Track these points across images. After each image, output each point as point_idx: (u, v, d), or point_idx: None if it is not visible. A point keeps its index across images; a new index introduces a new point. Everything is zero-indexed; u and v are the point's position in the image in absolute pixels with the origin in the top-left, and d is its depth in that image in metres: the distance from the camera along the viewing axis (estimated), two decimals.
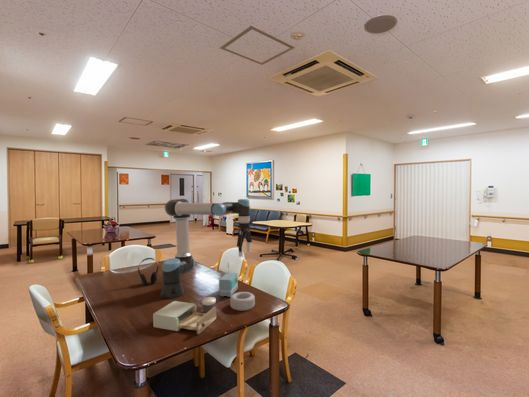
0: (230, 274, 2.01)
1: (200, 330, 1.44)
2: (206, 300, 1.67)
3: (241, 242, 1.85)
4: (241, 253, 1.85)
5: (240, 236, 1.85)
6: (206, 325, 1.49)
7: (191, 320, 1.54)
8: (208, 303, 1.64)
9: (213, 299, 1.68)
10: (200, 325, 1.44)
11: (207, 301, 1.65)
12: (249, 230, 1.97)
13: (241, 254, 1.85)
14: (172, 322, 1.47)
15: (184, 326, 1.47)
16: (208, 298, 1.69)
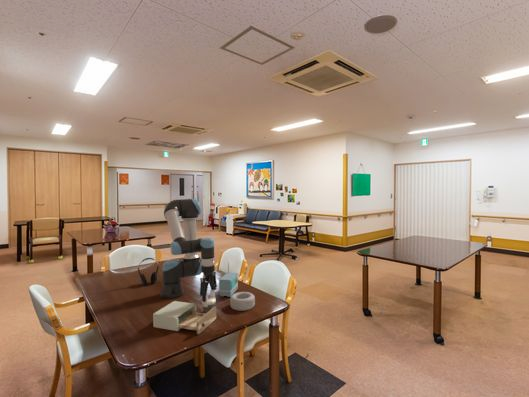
0: (230, 274, 2.01)
1: (200, 330, 1.44)
2: None
3: (205, 291, 1.62)
4: (205, 303, 1.63)
5: (202, 284, 1.61)
6: (206, 325, 1.49)
7: (191, 320, 1.54)
8: (208, 303, 1.64)
9: (213, 299, 1.68)
10: (200, 325, 1.44)
11: (207, 301, 1.65)
12: (215, 274, 1.72)
13: (205, 304, 1.63)
14: (172, 322, 1.47)
15: (184, 326, 1.47)
16: (208, 298, 1.69)
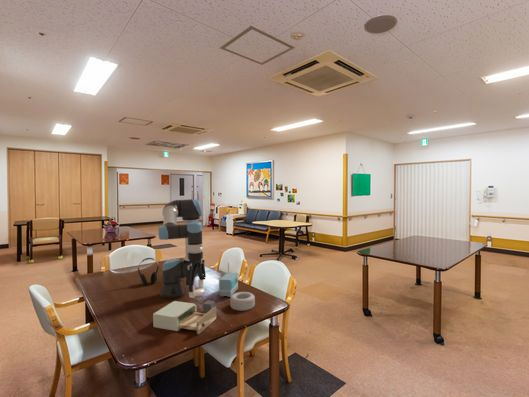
0: (230, 274, 2.01)
1: (200, 330, 1.44)
2: None
3: None
4: (192, 293, 1.48)
5: (189, 273, 1.45)
6: (206, 325, 1.49)
7: (191, 320, 1.54)
8: (195, 294, 1.48)
9: (201, 289, 1.52)
10: (200, 325, 1.44)
11: None
12: (203, 262, 1.57)
13: (192, 295, 1.48)
14: (172, 322, 1.47)
15: (184, 326, 1.47)
16: (196, 289, 1.53)
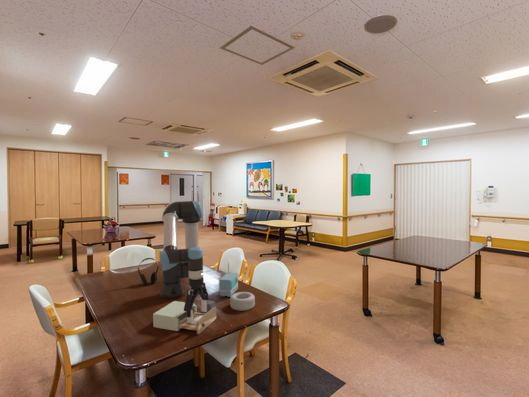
0: (230, 274, 2.01)
1: (200, 330, 1.44)
2: (194, 319, 1.52)
3: (190, 305, 1.46)
4: (190, 319, 1.46)
5: (189, 297, 1.45)
6: (206, 325, 1.49)
7: None
8: (196, 323, 1.49)
9: None
10: (200, 325, 1.44)
11: (195, 320, 1.50)
12: (204, 285, 1.58)
13: (190, 320, 1.46)
14: (172, 322, 1.47)
15: (184, 326, 1.47)
16: (197, 317, 1.54)
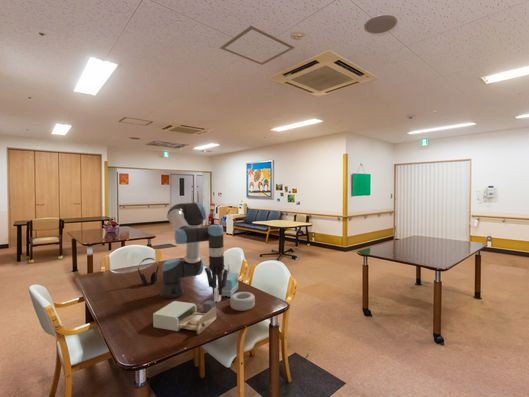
0: (230, 274, 2.01)
1: (200, 330, 1.44)
2: (194, 319, 1.52)
3: None
4: None
5: None
6: (206, 325, 1.49)
7: None
8: (196, 323, 1.49)
9: None
10: (200, 325, 1.44)
11: (195, 320, 1.50)
12: (225, 272, 1.45)
13: None
14: (172, 322, 1.47)
15: (184, 326, 1.47)
16: (197, 317, 1.54)
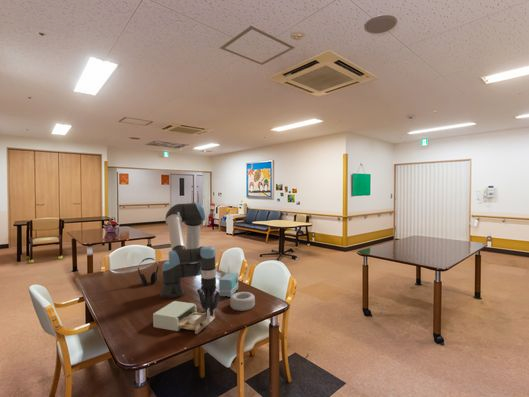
0: (231, 274, 2.01)
1: (198, 330, 1.44)
2: (192, 318, 1.53)
3: (205, 304, 1.50)
4: None
5: None
6: (204, 325, 1.50)
7: None
8: None
9: None
10: (198, 325, 1.44)
11: (194, 320, 1.51)
12: (216, 294, 1.47)
13: None
14: (172, 322, 1.47)
15: (182, 326, 1.47)
16: (195, 317, 1.54)
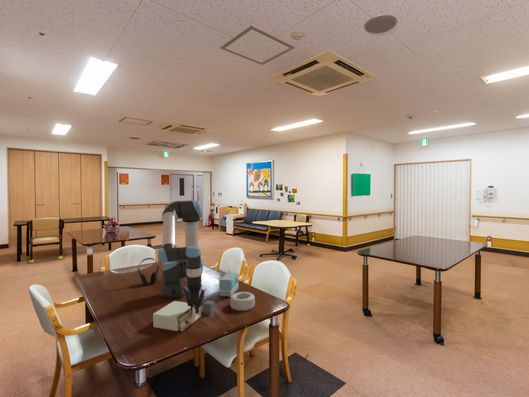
0: (231, 274, 2.01)
1: (183, 327, 1.47)
2: (179, 316, 1.55)
3: (191, 302, 1.53)
4: None
5: None
6: (190, 322, 1.53)
7: None
8: None
9: None
10: (183, 322, 1.47)
11: None
12: (201, 292, 1.50)
13: None
14: (172, 322, 1.47)
15: None
16: (181, 315, 1.57)
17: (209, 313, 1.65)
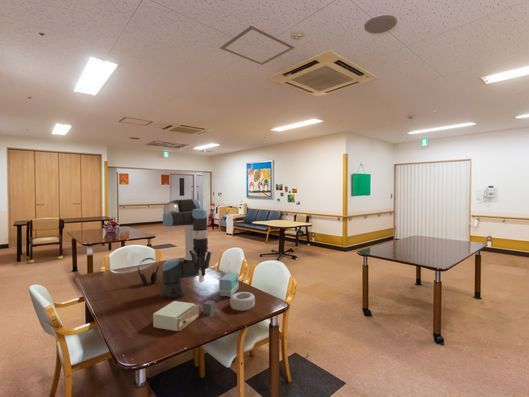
0: (231, 274, 2.01)
1: (181, 327, 1.48)
2: None
3: (197, 264, 1.54)
4: None
5: None
6: (188, 322, 1.53)
7: None
8: None
9: None
10: (181, 322, 1.48)
11: None
12: (208, 254, 1.51)
13: None
14: (172, 322, 1.47)
15: None
16: None
17: (209, 313, 1.65)
